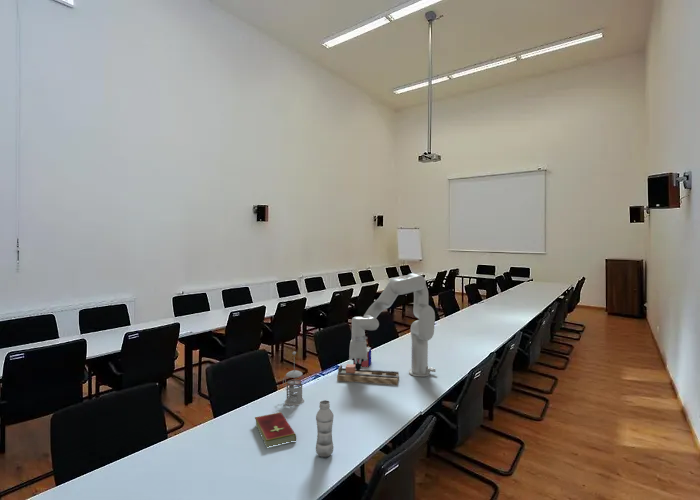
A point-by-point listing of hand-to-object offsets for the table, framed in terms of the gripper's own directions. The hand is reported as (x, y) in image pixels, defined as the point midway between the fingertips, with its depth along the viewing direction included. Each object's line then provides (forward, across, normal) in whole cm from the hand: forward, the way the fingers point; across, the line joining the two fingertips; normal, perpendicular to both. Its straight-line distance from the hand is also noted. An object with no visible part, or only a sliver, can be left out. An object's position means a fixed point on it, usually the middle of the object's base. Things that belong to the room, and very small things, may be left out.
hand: (358, 369), depth 222 cm
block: (+2, +4, 0) cm, 5 cm away
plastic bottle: (+5, 0, +79) cm, 79 cm away
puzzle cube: (+5, +1, -24) cm, 25 cm away
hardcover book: (+5, +25, +67) cm, 72 cm away
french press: (+5, +27, +36) cm, 45 cm away
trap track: (+5, -6, 0) cm, 8 cm away
